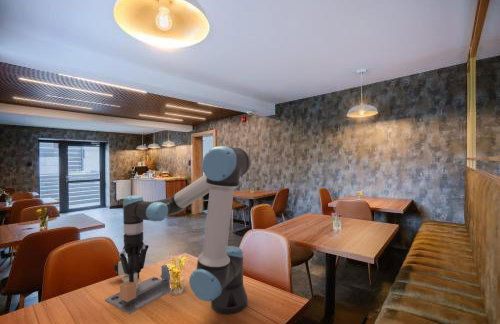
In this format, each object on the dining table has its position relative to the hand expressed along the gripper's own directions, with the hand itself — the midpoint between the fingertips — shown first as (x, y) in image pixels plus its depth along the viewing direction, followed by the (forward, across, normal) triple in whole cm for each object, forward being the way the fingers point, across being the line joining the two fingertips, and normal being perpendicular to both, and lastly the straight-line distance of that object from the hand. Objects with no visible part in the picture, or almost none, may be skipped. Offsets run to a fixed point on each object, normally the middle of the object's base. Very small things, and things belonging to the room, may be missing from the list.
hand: (134, 288), depth 104 cm
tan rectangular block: (+5, +3, -1) cm, 6 cm away
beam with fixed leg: (+5, -6, -1) cm, 8 cm away
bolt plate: (+6, -6, -3) cm, 9 cm away
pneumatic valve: (+6, -9, -19) cm, 22 cm away
